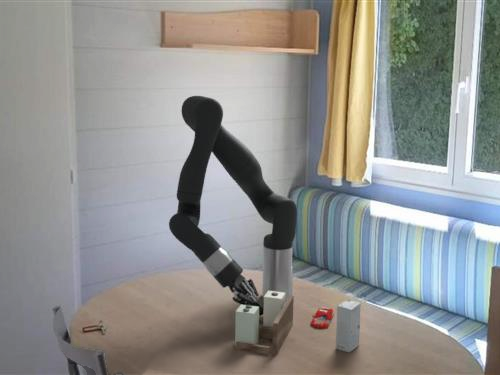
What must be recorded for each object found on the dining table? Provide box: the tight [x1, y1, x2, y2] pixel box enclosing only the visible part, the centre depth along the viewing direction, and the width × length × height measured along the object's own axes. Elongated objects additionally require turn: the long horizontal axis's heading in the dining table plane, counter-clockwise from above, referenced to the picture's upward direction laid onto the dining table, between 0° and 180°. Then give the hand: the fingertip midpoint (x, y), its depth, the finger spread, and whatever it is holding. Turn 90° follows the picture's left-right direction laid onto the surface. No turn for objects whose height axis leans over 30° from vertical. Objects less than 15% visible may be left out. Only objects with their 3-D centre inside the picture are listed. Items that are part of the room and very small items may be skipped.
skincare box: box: [335, 299, 362, 353], centre depth 170 cm, size 6×4×12 cm
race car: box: [309, 306, 335, 330], centre depth 185 cm, size 13×5×4 cm, turn 161°
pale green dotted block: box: [234, 304, 260, 348], centre depth 167 cm, size 5×5×10 cm
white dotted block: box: [262, 291, 286, 327], centre depth 177 cm, size 5×5×10 cm
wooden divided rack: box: [235, 295, 295, 356], centre depth 173 cm, size 15×19×10 cm
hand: (263, 313), depth 179 cm, fingers closed
